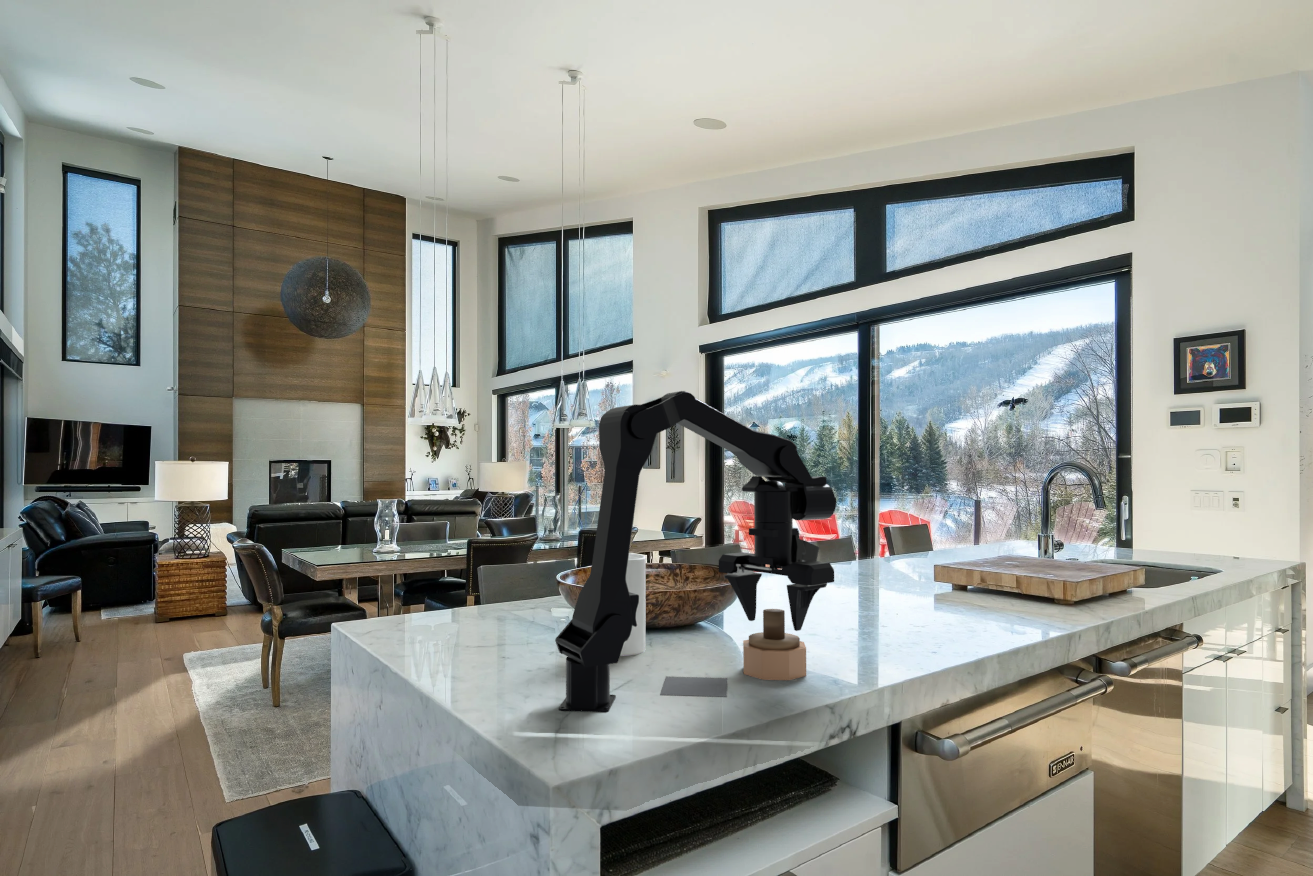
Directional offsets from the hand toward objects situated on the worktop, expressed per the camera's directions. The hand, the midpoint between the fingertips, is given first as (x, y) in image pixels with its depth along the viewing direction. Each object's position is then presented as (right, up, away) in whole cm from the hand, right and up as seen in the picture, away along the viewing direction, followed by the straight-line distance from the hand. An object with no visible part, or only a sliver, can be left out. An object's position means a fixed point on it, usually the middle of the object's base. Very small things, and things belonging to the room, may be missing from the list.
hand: (774, 625), depth 114 cm
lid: (0, -3, 0) cm, 3 cm away
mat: (-12, -7, -8) cm, 16 cm away
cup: (-24, -8, +13) cm, 28 cm away
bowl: (0, -7, 0) cm, 7 cm away
